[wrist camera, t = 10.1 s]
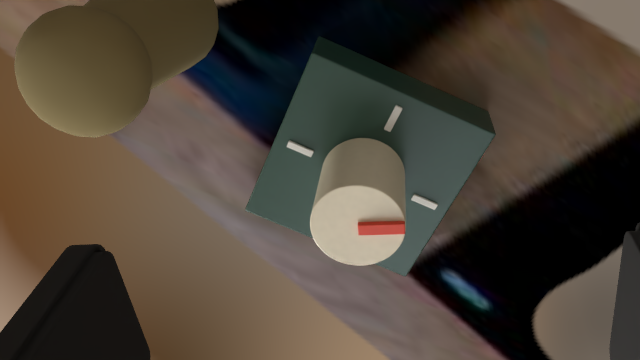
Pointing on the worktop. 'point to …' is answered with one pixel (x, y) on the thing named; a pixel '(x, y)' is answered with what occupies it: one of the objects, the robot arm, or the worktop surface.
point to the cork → (108, 59)
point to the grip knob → (360, 203)
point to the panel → (374, 123)
